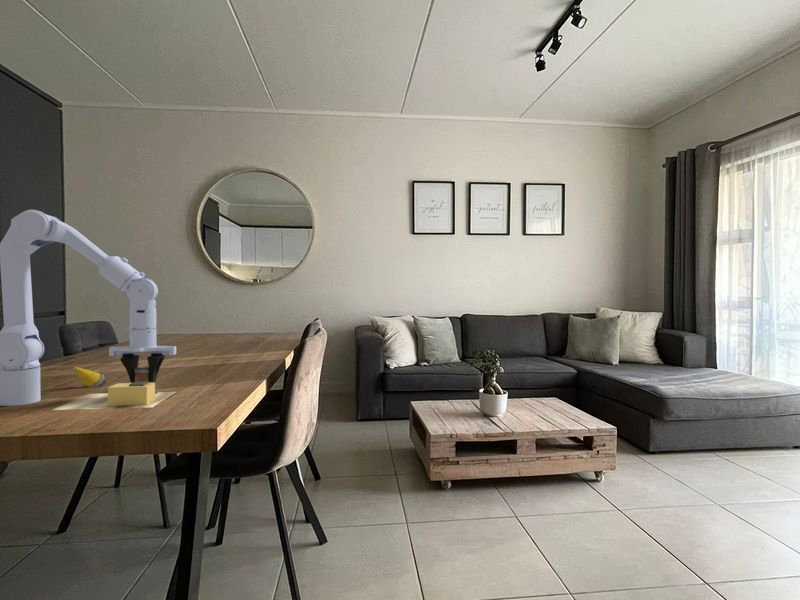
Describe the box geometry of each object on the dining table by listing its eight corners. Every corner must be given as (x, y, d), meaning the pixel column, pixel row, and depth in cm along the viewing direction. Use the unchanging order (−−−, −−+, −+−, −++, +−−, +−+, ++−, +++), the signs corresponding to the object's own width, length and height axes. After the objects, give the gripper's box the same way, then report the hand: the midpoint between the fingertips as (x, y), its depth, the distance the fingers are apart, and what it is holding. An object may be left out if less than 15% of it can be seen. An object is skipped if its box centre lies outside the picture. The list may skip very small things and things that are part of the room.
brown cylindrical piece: (130, 394, 114) (131, 369, 114) (139, 391, 117) (139, 366, 117) (146, 394, 114) (146, 369, 114) (154, 391, 117) (154, 366, 117)
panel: (51, 415, 101) (51, 410, 101) (88, 398, 117) (88, 393, 117) (152, 412, 104) (152, 407, 104) (175, 396, 120) (175, 391, 120)
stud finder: (107, 405, 105) (107, 385, 105) (117, 400, 110) (117, 381, 110) (146, 404, 106) (146, 384, 106) (155, 399, 111) (154, 380, 111)
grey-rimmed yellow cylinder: (110, 391, 127) (81, 369, 121) (91, 400, 128) (62, 378, 121) (113, 376, 131) (86, 355, 125) (96, 384, 132) (67, 363, 125)
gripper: (102, 330, 111) (103, 389, 111) (169, 329, 113) (169, 387, 113) (116, 327, 118) (116, 383, 118) (178, 327, 120) (179, 381, 120)
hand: (143, 385), depth 116 cm, fingers closed on brown cylindrical piece, 3 cm apart
